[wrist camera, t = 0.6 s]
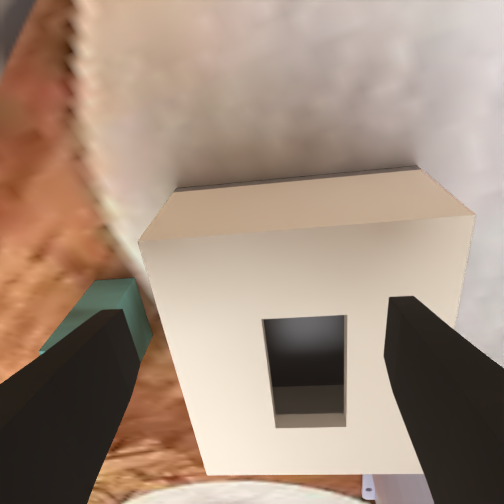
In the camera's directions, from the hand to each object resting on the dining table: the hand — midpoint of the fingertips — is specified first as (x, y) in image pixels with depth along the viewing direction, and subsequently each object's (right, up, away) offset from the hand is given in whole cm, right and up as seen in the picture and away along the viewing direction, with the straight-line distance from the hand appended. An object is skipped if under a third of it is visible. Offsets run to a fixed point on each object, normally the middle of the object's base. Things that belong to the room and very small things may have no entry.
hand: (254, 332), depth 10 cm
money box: (+3, -1, +12) cm, 12 cm away
